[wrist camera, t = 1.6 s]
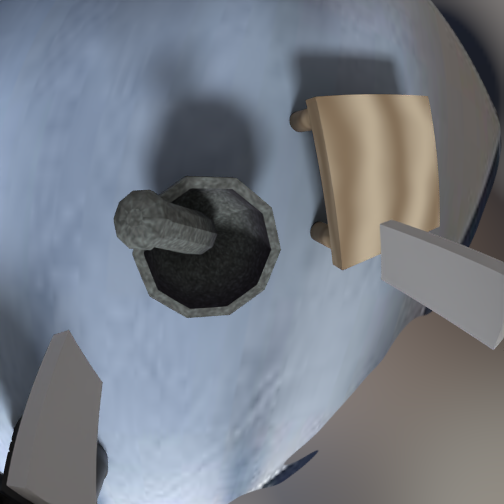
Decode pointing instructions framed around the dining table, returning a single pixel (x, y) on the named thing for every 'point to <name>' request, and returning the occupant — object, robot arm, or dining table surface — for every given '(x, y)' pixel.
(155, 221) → the mortar and pestle
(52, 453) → the robot arm
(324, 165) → the oak footstool
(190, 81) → the dining table surface
